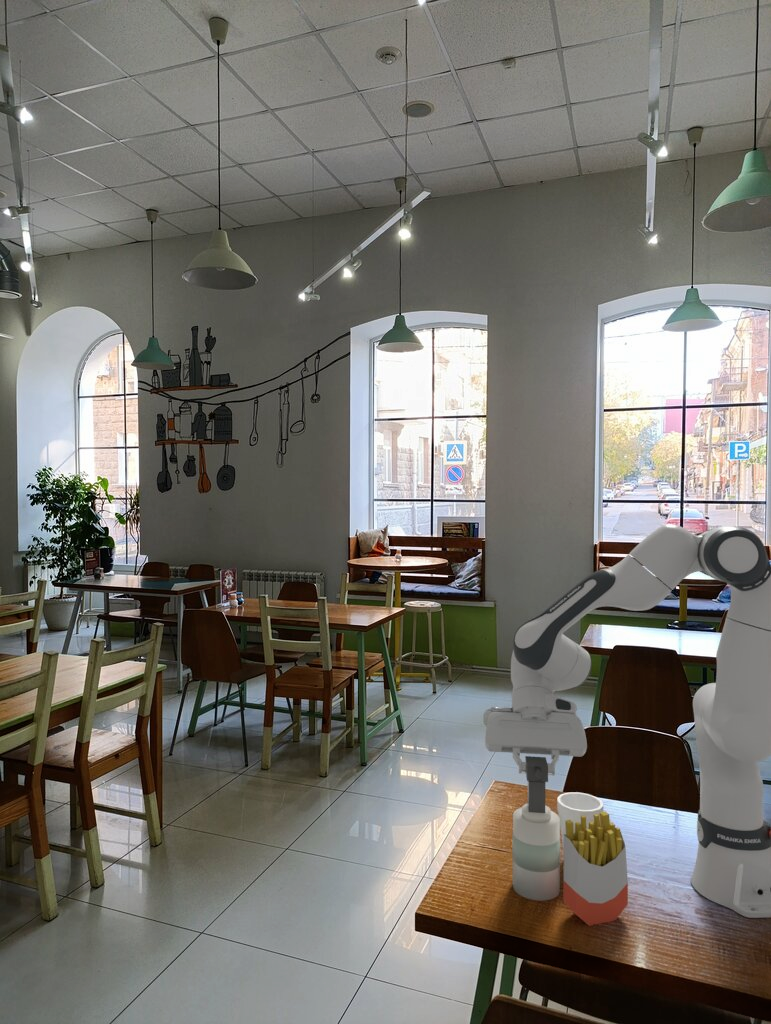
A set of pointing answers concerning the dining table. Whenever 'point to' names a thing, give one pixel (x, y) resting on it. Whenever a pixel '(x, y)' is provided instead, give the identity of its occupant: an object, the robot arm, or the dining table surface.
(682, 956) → the dining table surface
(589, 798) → the foam cup
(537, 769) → the pump head
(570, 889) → the french fries container
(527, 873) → the syrup bottle
